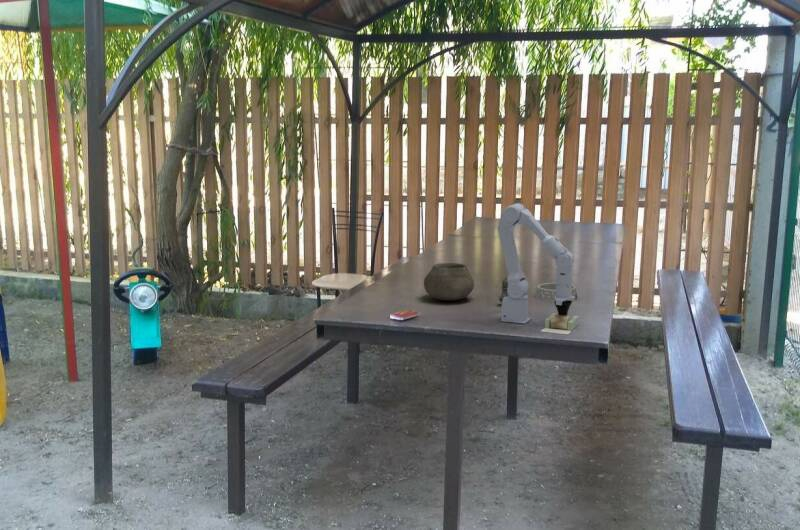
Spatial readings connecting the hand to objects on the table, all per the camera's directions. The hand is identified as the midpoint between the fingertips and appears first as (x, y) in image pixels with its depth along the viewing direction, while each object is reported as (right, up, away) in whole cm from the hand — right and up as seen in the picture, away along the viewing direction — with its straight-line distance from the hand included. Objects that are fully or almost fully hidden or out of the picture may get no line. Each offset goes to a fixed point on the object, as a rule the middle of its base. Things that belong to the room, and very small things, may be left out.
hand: (562, 320), depth 286 cm
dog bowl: (+7, +6, +46) cm, 47 cm away
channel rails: (0, -2, 0) cm, 2 cm away
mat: (-4, -3, -8) cm, 10 cm away
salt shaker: (-17, +4, +32) cm, 36 cm away
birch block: (-2, -2, -3) cm, 4 cm away
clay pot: (-39, +5, +43) cm, 58 cm away
